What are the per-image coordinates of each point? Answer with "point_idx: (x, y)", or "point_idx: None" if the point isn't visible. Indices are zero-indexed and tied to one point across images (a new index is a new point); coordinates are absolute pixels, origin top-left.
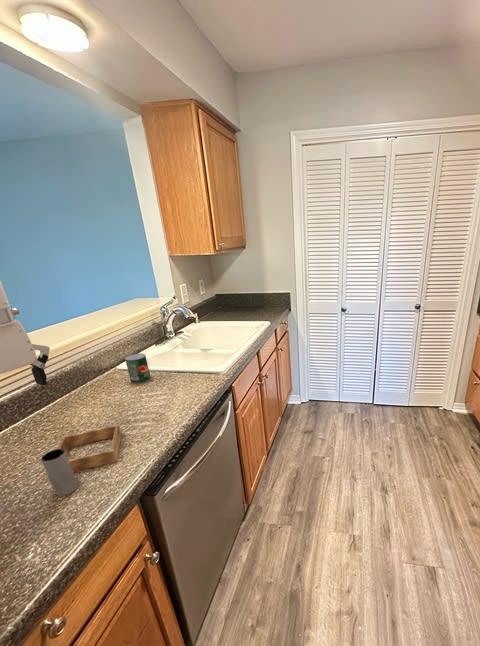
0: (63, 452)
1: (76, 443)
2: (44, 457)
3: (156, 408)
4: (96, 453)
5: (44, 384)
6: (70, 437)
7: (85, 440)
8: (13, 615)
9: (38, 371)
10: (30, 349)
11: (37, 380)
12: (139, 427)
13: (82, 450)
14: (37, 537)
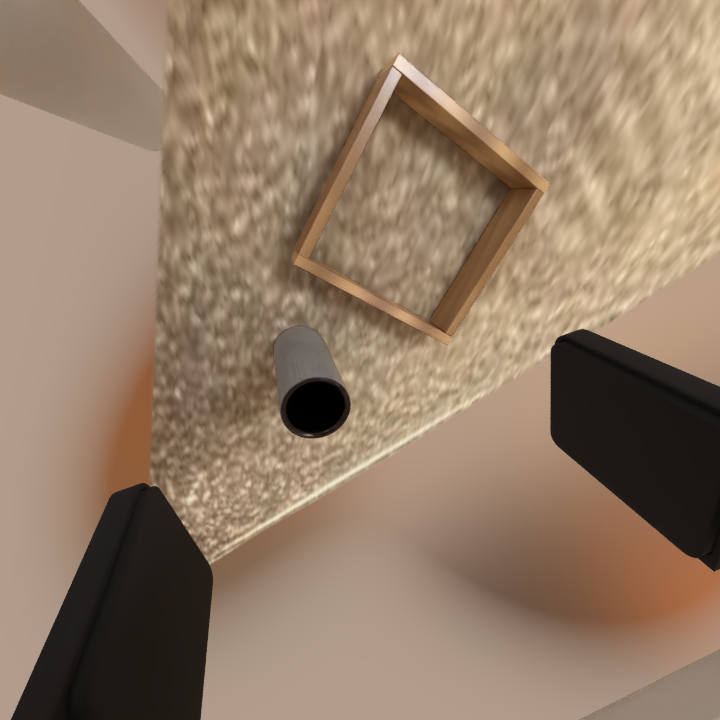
0: (343, 420)
1: (412, 104)
2: (291, 395)
3: (685, 114)
4: (413, 318)
5: (559, 442)
6: (415, 88)
7: (439, 124)
8: None
9: (687, 546)
10: None
11: (581, 396)
12: (570, 200)
13: (404, 167)
14: (208, 462)
